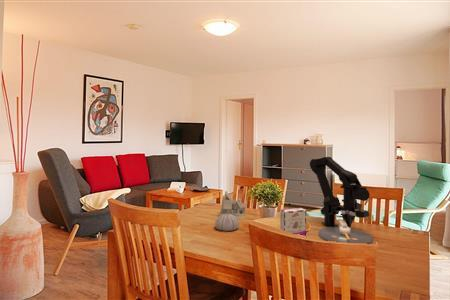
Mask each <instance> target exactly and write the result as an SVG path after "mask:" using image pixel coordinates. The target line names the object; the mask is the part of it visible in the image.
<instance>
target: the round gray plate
mask: <svg viewBox="0 0 450 300" xmlns="http://www.w3.org/2000/svg"><path fill="white" fill-rule="evenodd" d="M339 230H340V229H339V227H338V226H326V227H323V228H320V229H319V230H318V237H319V236H320V237H321V238H320V237H319V238H320V239H322V240H323V239H324V241H326V240H329V241H336V242H347V243H367V244H368V245H370V244H371V242H373V235H371V234H370V233H368V232H366V231H365V230H364V231H363V230H362V229H361V230H360V229H357V228H353V227H352V228H351V227H350V235H348V236H349V238H350V240H347V238H346V236H345V235H342V234H340V233H339Z"/></svg>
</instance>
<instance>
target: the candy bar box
mask: <svg viewBox="0 0 450 300" xmlns="http://www.w3.org/2000/svg"><path fill="white" fill-rule="evenodd" d="M279 212H280V214H279V215H280V217H279V218H280V223H279V231H280V230H283V231H286V232H290V233H293V234H300V235H303V236H306V237H307V209H305V208H302V207H298V208H297V207H296V208H295V207H294V208H284V209H280V211H279Z"/></svg>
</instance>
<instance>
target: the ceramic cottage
mask: <svg viewBox="0 0 450 300" xmlns="http://www.w3.org/2000/svg"><path fill="white" fill-rule="evenodd" d="M245 204H246V203H245V202H241V199H240V198H238V200H237V199H232V198H231V197H230V195H229V194H228V191H226V190H225V191H224V196H222V200H221V208H220V211H219V216H220V215H222V214H226V213H227V214H228V213H229V214H232V215H234V216H235V217H236V218H237V219H238V218H242V217H245V216H246V205H245ZM219 216H218V217H219Z"/></svg>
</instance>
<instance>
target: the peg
mask: <svg viewBox="0 0 450 300" xmlns="http://www.w3.org/2000/svg"><path fill="white" fill-rule="evenodd" d="M337 227H339V229H340V230H339V233H340V234H342V235H345V236H346V238H347V240H350V238H349V236H348V235H350V228H351V227H348V226H347V224H346V222H345V220H344V219H341V218H340V219H338V223H337Z"/></svg>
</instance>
